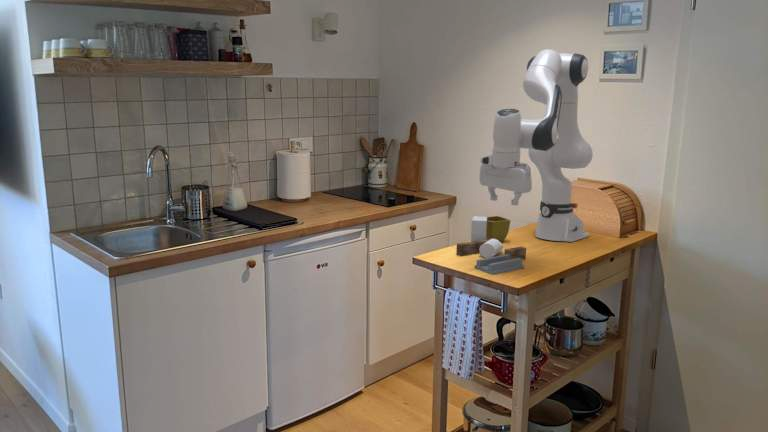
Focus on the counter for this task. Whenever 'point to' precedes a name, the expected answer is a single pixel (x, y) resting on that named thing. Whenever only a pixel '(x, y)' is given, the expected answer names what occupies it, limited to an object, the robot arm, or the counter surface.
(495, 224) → the flower pot
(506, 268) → the cradle
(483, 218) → the small box
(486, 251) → the roll
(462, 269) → the counter surface
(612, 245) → the counter surface
